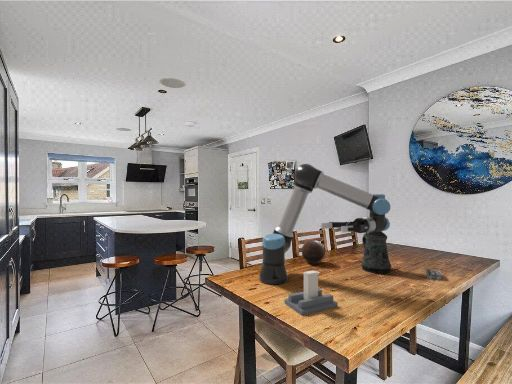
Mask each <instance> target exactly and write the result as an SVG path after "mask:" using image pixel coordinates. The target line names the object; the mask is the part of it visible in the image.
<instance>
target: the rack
mask: <svg viewBox="0 0 512 384" xmlns="http://www.w3.org/2000/svg"><path fill="white" fill-rule="evenodd" d="M287 295H288V297H287V298H285V299H284V300H283V301H284V304H285V305H286V306H288V307H289V308H290V309H292V310H293V311H294V312H296V313H297V314H299V315H300V316H303V315H307V314H309V315H310V314H312V313H316V312H320V311H325V310H329V309H333V308H337V307H338V306H339V305H338V302H337V301H335V300H334V295H332V294H330V293H327V294H323V289H321V288H318V297H314V298H309V299H304V291H300V292H295V293H289V294H287Z"/></svg>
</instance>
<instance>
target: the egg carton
mask: <svg viewBox="0 0 512 384" xmlns="http://www.w3.org/2000/svg"><path fill="white" fill-rule="evenodd" d="M424 273H425V276H426V278H427V279H430V280H438V281H441V280H442V272H441V270H434V269H432V270H431V269H430V268H427V267H425V270H424Z"/></svg>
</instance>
